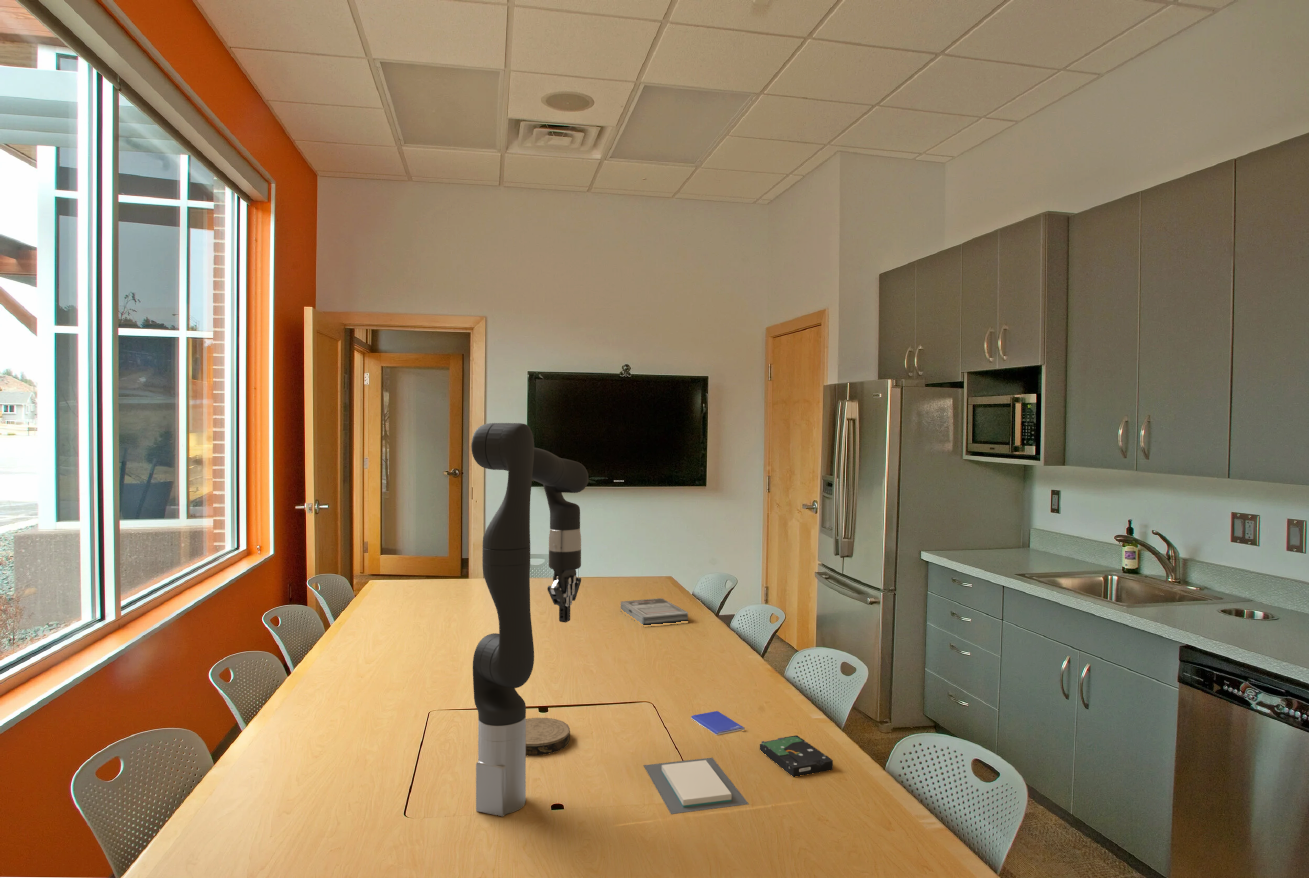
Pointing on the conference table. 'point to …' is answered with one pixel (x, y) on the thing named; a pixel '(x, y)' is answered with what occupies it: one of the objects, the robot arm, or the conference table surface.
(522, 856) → the conference table surface
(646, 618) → the hard drive
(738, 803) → the mat
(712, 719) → the hard drive
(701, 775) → the tile
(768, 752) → the disk drive
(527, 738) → the brown round disc
